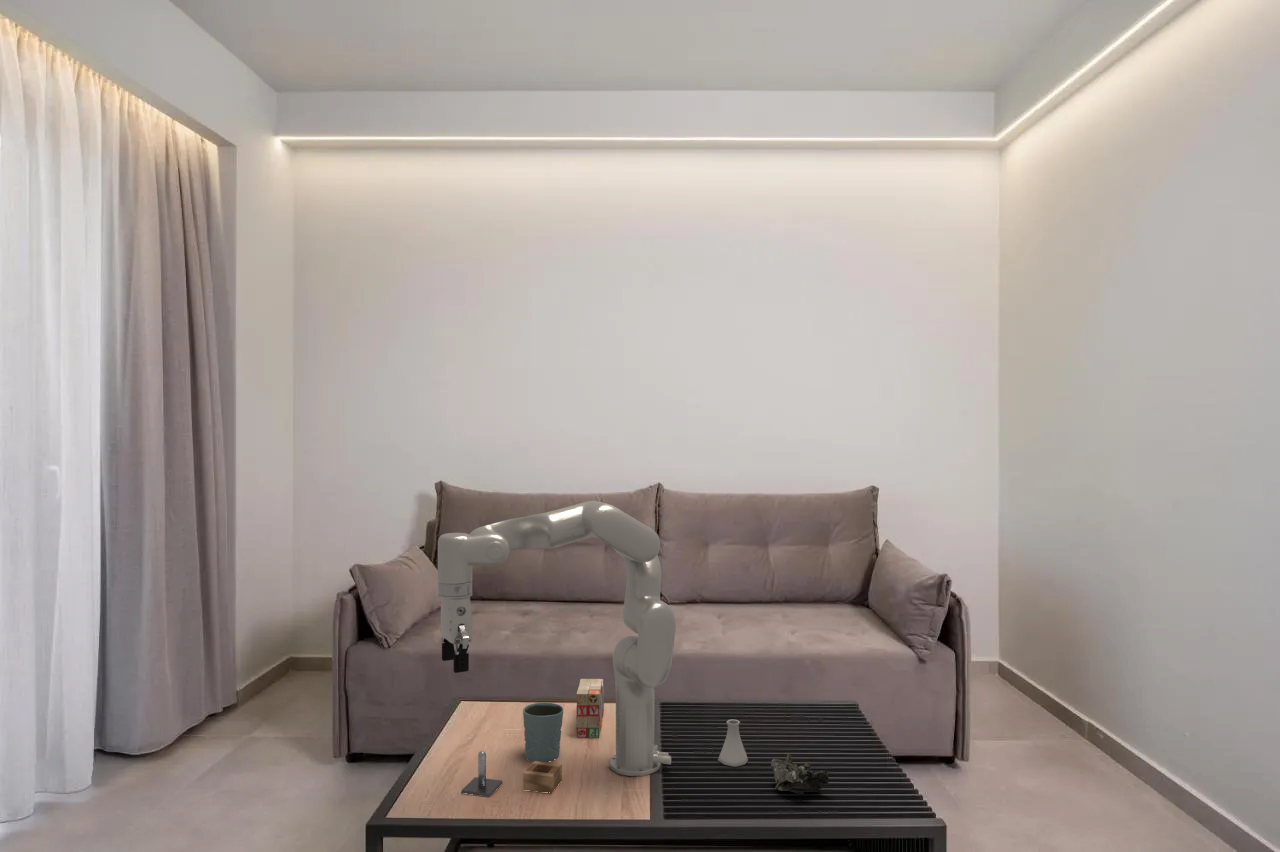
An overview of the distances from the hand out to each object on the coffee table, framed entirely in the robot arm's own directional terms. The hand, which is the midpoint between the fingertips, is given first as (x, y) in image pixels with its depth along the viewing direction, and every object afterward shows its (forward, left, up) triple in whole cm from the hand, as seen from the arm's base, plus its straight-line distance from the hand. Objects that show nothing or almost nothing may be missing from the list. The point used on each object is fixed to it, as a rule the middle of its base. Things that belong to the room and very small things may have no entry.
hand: (454, 665), depth 187 cm
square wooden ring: (-16, -13, -31) cm, 37 cm away
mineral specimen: (-74, -27, -31) cm, 85 cm away
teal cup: (-10, -29, -31) cm, 43 cm away
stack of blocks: (-15, -53, -31) cm, 63 cm away
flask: (-57, -38, -31) cm, 75 cm away
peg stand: (-3, -8, -31) cm, 32 cm away
